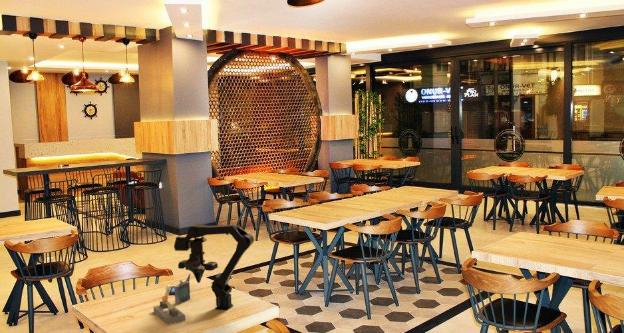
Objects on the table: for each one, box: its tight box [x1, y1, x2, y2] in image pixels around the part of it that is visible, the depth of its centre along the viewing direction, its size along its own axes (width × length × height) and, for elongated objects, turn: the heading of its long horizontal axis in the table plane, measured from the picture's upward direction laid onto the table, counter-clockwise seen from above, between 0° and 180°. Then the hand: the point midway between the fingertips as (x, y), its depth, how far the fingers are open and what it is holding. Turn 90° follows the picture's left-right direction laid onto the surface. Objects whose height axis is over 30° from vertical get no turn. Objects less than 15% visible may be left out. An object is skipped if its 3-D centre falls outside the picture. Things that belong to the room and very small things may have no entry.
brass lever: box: [161, 295, 174, 313], centre depth 250 cm, size 3×3×10 cm
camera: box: [168, 273, 191, 296], centre depth 293 cm, size 12×11×7 cm
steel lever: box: [162, 284, 172, 304], centre depth 262 cm, size 3×3×10 cm
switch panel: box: [152, 300, 186, 325], centre depth 257 cm, size 20×8×5 cm, turn 34°
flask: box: [174, 279, 191, 305], centre depth 276 cm, size 9×3×11 cm, turn 146°
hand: (198, 282), depth 266 cm, fingers closed
